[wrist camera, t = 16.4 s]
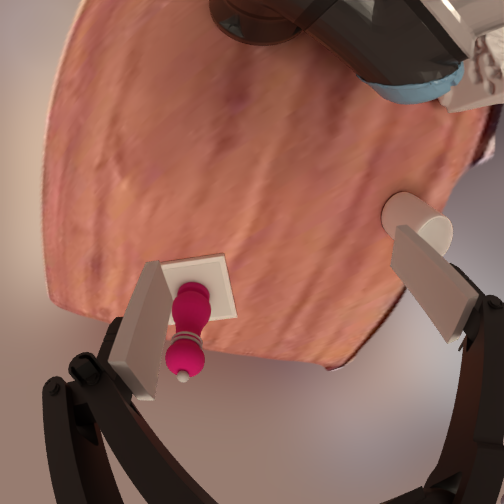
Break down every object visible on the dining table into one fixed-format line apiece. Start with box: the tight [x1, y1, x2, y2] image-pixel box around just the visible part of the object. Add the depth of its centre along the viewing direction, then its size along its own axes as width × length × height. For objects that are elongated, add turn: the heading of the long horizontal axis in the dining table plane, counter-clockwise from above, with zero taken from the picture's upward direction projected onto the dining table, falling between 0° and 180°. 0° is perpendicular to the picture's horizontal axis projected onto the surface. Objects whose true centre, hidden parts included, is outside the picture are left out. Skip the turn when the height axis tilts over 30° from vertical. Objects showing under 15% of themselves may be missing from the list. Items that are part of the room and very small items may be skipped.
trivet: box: [160, 253, 237, 325], centre depth 53 cm, size 15×15×1 cm
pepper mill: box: [165, 282, 211, 382], centre depth 43 cm, size 7×7×20 cm
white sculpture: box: [438, 27, 504, 113], centre depth 21 cm, size 20×16×25 cm
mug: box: [381, 192, 453, 257], centre depth 43 cm, size 9×12×12 cm
